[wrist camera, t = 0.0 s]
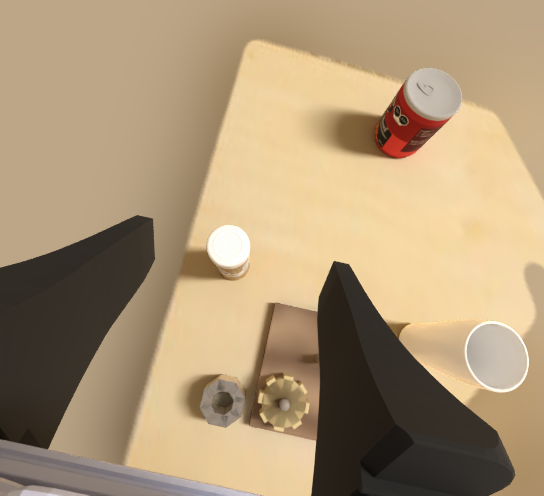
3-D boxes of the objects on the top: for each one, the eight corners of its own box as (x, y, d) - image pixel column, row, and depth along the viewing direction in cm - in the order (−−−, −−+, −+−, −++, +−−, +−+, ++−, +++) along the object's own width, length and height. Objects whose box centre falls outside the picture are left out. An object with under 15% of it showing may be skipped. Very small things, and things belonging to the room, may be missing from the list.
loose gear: (238, 421, 40) (237, 430, 37) (200, 412, 40) (196, 421, 37) (248, 380, 41) (247, 385, 38) (210, 371, 41) (207, 376, 38)
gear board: (337, 441, 40) (347, 456, 36) (249, 422, 40) (249, 435, 36) (355, 321, 44) (366, 322, 40) (275, 302, 44) (277, 301, 40)
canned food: (380, 111, 52) (414, 58, 41) (424, 129, 52) (469, 81, 41) (366, 147, 50) (397, 102, 39) (411, 166, 50) (455, 126, 39)
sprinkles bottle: (214, 275, 44) (199, 258, 31) (224, 246, 45) (214, 218, 32) (244, 284, 44) (242, 272, 31) (254, 255, 45) (255, 231, 32)
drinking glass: (397, 369, 43) (473, 398, 28) (387, 320, 44) (455, 324, 30) (442, 363, 44) (539, 388, 29) (431, 315, 45) (519, 315, 30)
